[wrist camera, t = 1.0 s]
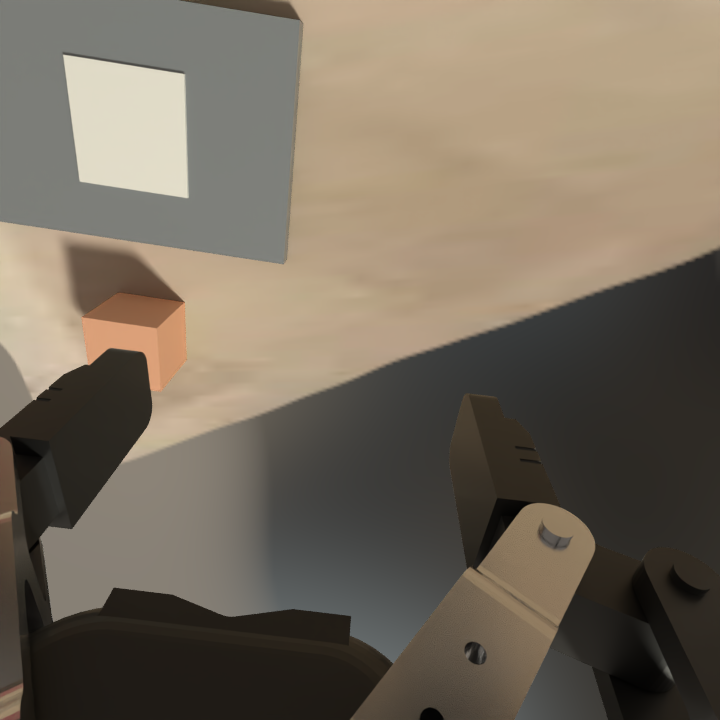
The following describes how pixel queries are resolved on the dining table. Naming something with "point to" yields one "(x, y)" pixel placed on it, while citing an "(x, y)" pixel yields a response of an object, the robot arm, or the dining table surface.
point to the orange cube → (140, 332)
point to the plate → (150, 122)
